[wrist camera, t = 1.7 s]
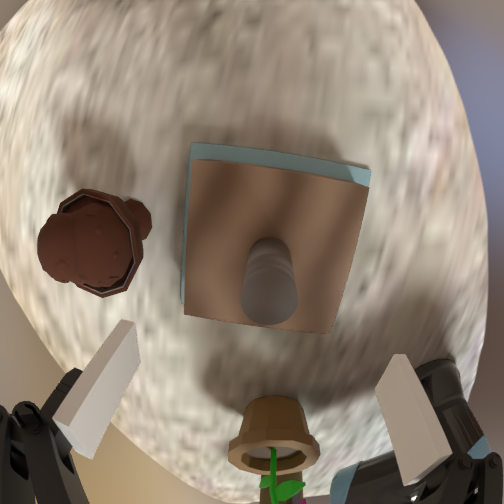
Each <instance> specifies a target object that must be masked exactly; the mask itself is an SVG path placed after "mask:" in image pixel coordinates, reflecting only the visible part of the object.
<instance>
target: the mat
mask: <svg viewBox="0 0 504 504" xmlns="http://www.w3.org/2000/svg"><path fill="white" fill-rule="evenodd" d="M197 159H213V160H223V161H232V162H240V163H248V164H256V165H263V166H270V167H277V168H283V169H289V170H295V171H301V172H307V173H313V174H318V175H323V176H328V177H333V178H338V179H343V180H348V181H352V182H356V183H359V184H361V185H364V186H367V187H368V186H369V181H370V176H371V170H367V169H363V168H359V167H354V166H350V165H346V164H341V163H336V162H332V161H327V160H322V159H317V158H311V157H306V156H300V155H295V154H288V153H282V152H276V151H269V150H262V149H254V148H246V147H238V146H228V145H218V144H206V143H193V142H191V148H190V157H189V167H188V178H187V189H186V201H185V215H184V231H183V252H182V283H181V303H182V304H184V288H185V258H186V238H187V221H188V207H189V195H190V183H191V173H192V163H193V160H197Z"/></svg>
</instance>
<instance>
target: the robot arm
mask: <svg viewBox="0 0 504 504" xmlns="http://www.w3.org/2000/svg"><path fill="white" fill-rule="evenodd" d="M140 363H141V361H140V355H139V348H138V341H137V334H136V326H135V322H131V321H127V320H123V319H121V320H120V322H119V323H118V324H117V326H116V327H115V328H114V330H113V331H112V332H111V334H110V335H109V336H108V338H107V339H106V340H105V342H104V343H103V344H102V346H101V347H100V349H99V350H98V351H97V353H96V354H95V355H94V357H93V358H92V360H91V361H90V362H89V364H88V365H87V367H86V368H85V369H84V371H82V370H79V369H77V368H74V369H72V370H71V371H69V372H68V373H66V374H65V376H64V377H63V378H62V380H61V381H60V383H59V384H58V385H57V387H56V389H55V390H54V391H53V392H52V394H51V395H50V397H49V398H48V399H47V401H46V402H45V404H44V405H43V407H42V408H41V410H39V408H38V407H37V406H36V405H35V404H34V403H32V402H30V401H23V402H20V403H18V404H17V405H16V406H15V407H14V409H13V411H12V414H9V413H8V412H7V411H6V409H5V408H4V407H3V406H1V405H0V504H35V496H36V500H37V503H38V504H89V502H88V499H87V497H86V494H85V492H84V489H83V487H82V485H81V482H80V479H79V476H78V474H77V471H76V468H75V465H74V462H73V459H72V455H71V454H70V450H71V448H72V447H73V448H74V449H75V451H76V452H77V453H79V454H81V455H83V456H85V457H87V458H90V459H93V456H94V454H95V452H96V450H97V448H98V446H99V444H100V441H101V439H102V437H103V435H104V433H105V431H106V429H107V427H108V425H109V423H110V421H111V419H112V417H113V415H114V413H115V411H116V409H117V407H118V405H119V403H120V401H121V399H122V397H123V395H124V393H125V391H126V389H127V387H128V385H129V383H130V381H131V379H132V378H133V376H134V374H135V372H136V370H137V368H138V366H139V364H140ZM374 390H375V393H376V396H377V399H378V402H379V404H380V407H381V410H382V413H383V417H384V420H385V423H386V426H387V429H388V432H389V435H390V439H391V442H392V445H393V449H394V450H392V451H389V452H387V453H385V454H382V455H380V456H377V457H374V458H372V459H369V460H366V461H359V462H358V463H357V464H354V465H351V466H349V467H346V468H343V469H341V470H339V471H338V472H337V473H336V474H335V476H334V478H333V480H332V483H331V488H330V497H329V504H502V495H503V467H502V459H501V457H500V455H498V454H497V453H495V452H491V450H490V447H489V445H488V443H487V440H486V435H484V433H483V431H482V429H481V427H480V425H479V424H478V421H477V420H476V418H475V416H474V414H473V412H472V411H471V409H470V407H469V405H468V403H467V402H466V400H465V398H464V395H463V389H462V385H461V381H460V373H459V370H458V369H457V367H456V366H455V364H454V363H453V362H452V361H450V360H447V359H440V360H435V361H432V362H429V363H427V364H425V365H423V366H421V367H419V368H418V369H416V370H414V369H413V367H412V366H411V364H410V362H409V360H408V358H407V356H406V354H394V355H393V357H392V359H391V361H390V362H389V364H388V366H387V368H386V370H385V372H384V373H383V375H382V377H381V379H380V380H379V382H378V384H377V385H376V387H375V389H374ZM476 488H478V492H477V493H476V494H475V489H476Z"/></svg>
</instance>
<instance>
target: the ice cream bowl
mask: <svg viewBox="0 0 504 504" xmlns="http://www.w3.org/2000/svg"><path fill="white" fill-rule="evenodd" d="M151 229H152V223H151V214H150V212H149V211H148V210H147V209H146V207H145V206H144V205H143V203H141V202H137V201H134V200H128V201H126V202H123V201H122V199H120V198H119V197H117V196H113V195H110V194H106V193H103V192H99V191H96V190H92V189H81V190H79V191H78V192H76V193H75V194H73V195H72V196H70V197H68V198H67V199H65V200H64V201H62V202H61V203H60V205H59V208H58V212H57V214H52V215H51V216H50V217H49V218H48V220H47V222H46V223H45V225H44V226H43V227H42V228H41V230H40V233H39V236H38V243H37V253H38V258H39V261H40V263H41V265H42V268H43V270H44V271H46V272H47V273H48V274H49V275H50V276H51V277H52V278H54V279H55V280H56V281H59V282H62V283H68V282H69V281H71V282H73V283H75V284H76V286H77V287H79V288H81V289H83V290H86V291H88V292H90V293H92V294H95V295H97V296H99V297H102V298H104V297H108V296H111V295H114V294H118V293H121V292H124V291H127V289H128V287H129V285H130V283H131V281H132V279H133V277H134V275H135V273H136V271H137V269H138V267H139V265H140V263H141V261H142V259H143V246H142V240H144V239H146V238H147V236H148V234H149V232H150V230H151Z"/></svg>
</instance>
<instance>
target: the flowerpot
mask: <svg viewBox="0 0 504 504" xmlns="http://www.w3.org/2000/svg"><path fill="white" fill-rule="evenodd" d="M319 456H320V447H319V444H318V442H317V441H316V440H315V438H314V437H313V436H312V435H310V433H309V429H308V426H307V422H306V418H305V414H304V410H303V408H302V407H301V405H300V404H299V402H298V401H296V400H293V399H291V398H288V397H286V396H267V397H263V398H259V399H255V400H254V401H253V402H252V403H250V404H249V405H248V406H247V407H246V411H245V414H244V418H243V421H242V425H241V428H240V432H239V435H238V437H236V438H234V439H233V440H231V441H230V444H229V451H228V461H229V462H230V463H231V464H233V465H234V466H236V467H237V468H238V469H240V470H243V471H247V472H251V473H254V474H259V475H270V476H265V477H263V478H262V479H261V482H260V486H259V487H260V488H266V487H268V486H269V485H270V496H271V502H272V504H279V503H278V501H286V500H287V499H289V498H291V497H292V496H294V495H295V494H296V493H297V492H298V491H300V490H301V489H302V488H303V487H304V486H305V485H306V484H305V482H299V481H294V480H290V481H286V482H282V483H281V484H280V485H279V486H278V487H277V488H276V475H284V474H289V473H295V472H300V471H302V470H304V469H306V468H308V467H310V466H312V465H314V464H315V463H316V461H317V460H318V458H319ZM299 504H306V500H305V499H301V500H300V502H299Z"/></svg>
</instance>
